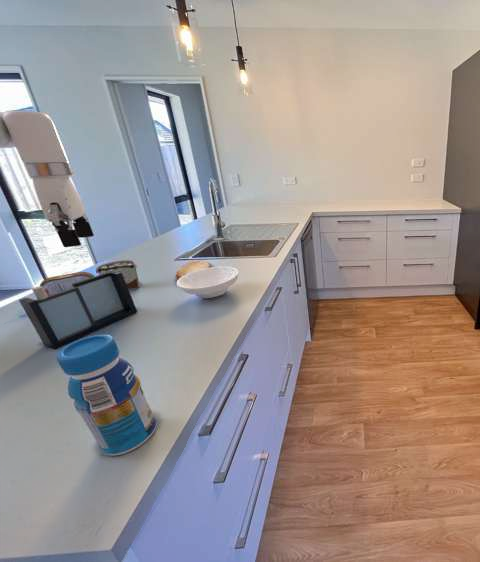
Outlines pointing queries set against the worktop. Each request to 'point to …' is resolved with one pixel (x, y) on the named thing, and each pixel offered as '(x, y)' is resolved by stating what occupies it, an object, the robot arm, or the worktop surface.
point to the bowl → (208, 281)
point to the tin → (63, 282)
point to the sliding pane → (64, 311)
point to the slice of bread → (191, 268)
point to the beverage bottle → (107, 394)
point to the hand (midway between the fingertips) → (80, 241)
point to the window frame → (100, 301)
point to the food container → (122, 266)
